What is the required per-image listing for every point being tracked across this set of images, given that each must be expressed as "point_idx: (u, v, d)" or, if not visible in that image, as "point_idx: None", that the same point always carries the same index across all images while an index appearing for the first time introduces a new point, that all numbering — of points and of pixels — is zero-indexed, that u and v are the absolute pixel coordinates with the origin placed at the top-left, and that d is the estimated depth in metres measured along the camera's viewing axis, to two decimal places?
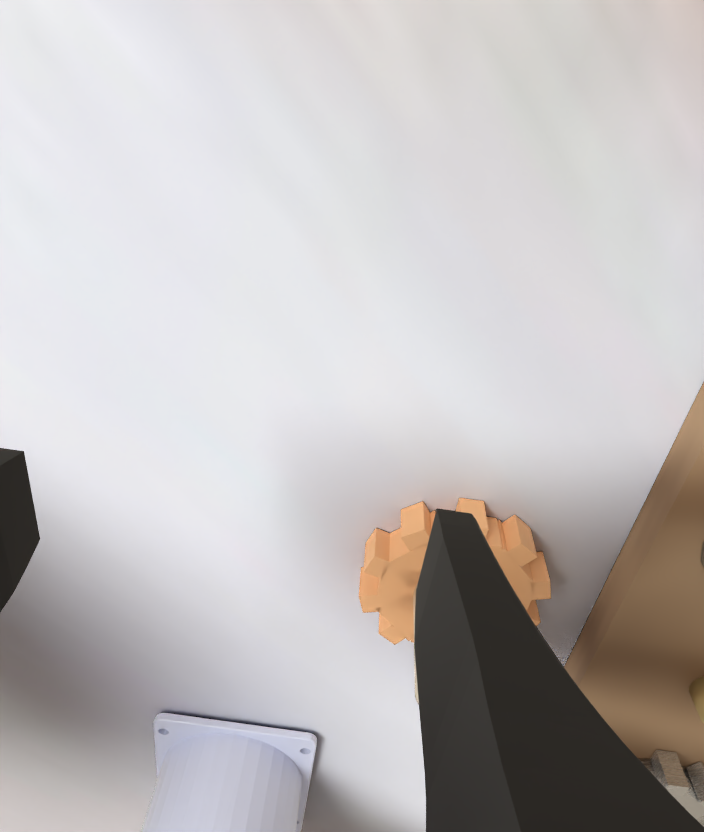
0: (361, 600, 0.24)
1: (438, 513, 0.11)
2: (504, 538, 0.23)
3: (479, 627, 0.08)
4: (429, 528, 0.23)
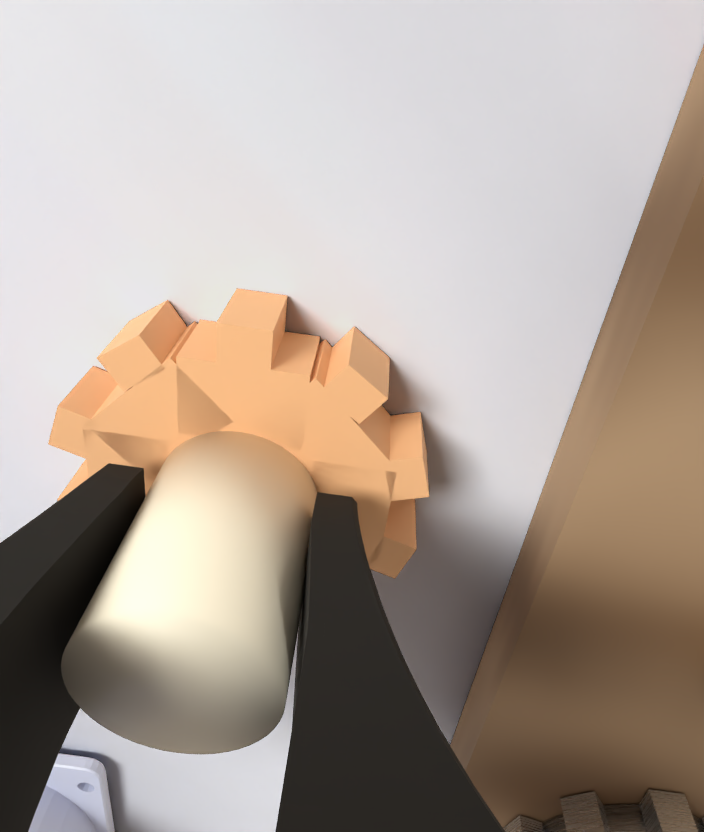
0: None
1: (317, 496, 0.11)
2: (326, 368, 0.11)
3: (319, 605, 0.08)
4: (166, 344, 0.11)
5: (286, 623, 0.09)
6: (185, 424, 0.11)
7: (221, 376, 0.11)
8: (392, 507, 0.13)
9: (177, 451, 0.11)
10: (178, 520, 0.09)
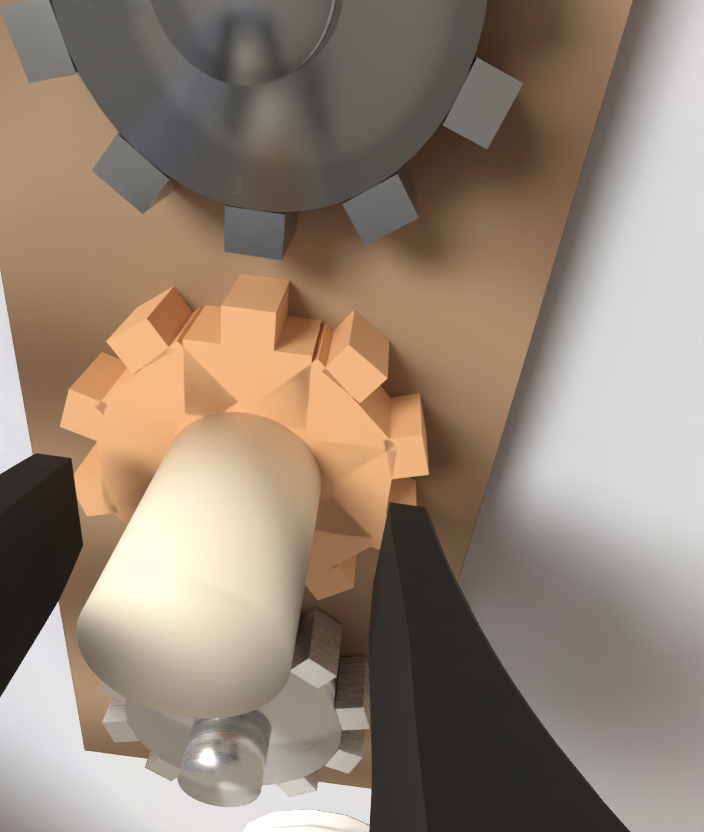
0: None
1: (390, 506, 0.11)
2: (327, 349, 0.11)
3: (416, 618, 0.08)
4: (172, 328, 0.11)
5: (291, 590, 0.09)
6: (192, 405, 0.11)
7: (226, 358, 0.11)
8: (393, 487, 0.13)
9: (185, 431, 0.12)
10: (187, 493, 0.10)
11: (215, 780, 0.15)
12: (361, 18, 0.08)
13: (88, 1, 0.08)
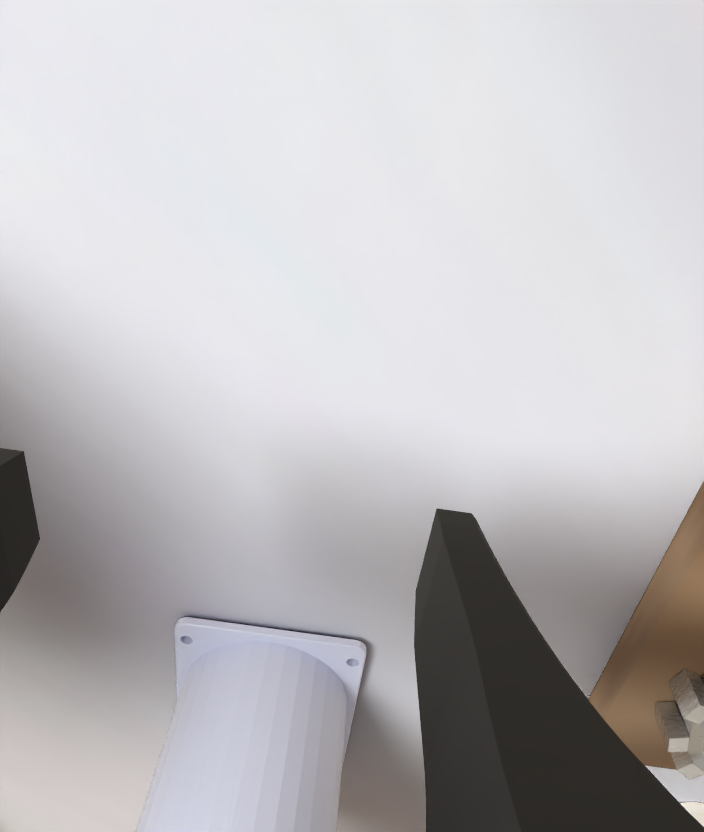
0: None
1: (438, 513, 0.11)
2: None
3: (479, 627, 0.08)
4: None
5: None
6: None
7: None
8: None
9: None
10: None
11: None
12: None
13: None
